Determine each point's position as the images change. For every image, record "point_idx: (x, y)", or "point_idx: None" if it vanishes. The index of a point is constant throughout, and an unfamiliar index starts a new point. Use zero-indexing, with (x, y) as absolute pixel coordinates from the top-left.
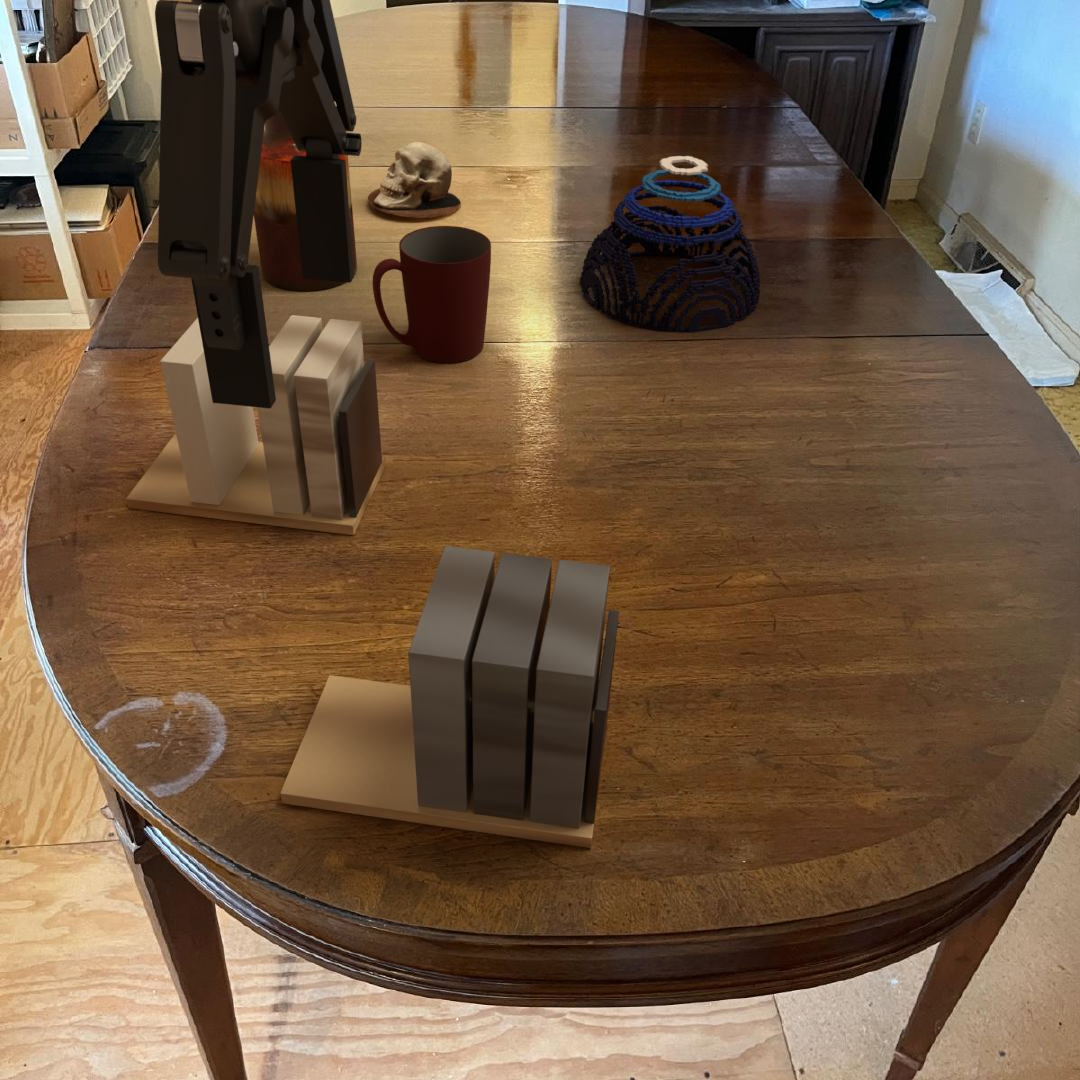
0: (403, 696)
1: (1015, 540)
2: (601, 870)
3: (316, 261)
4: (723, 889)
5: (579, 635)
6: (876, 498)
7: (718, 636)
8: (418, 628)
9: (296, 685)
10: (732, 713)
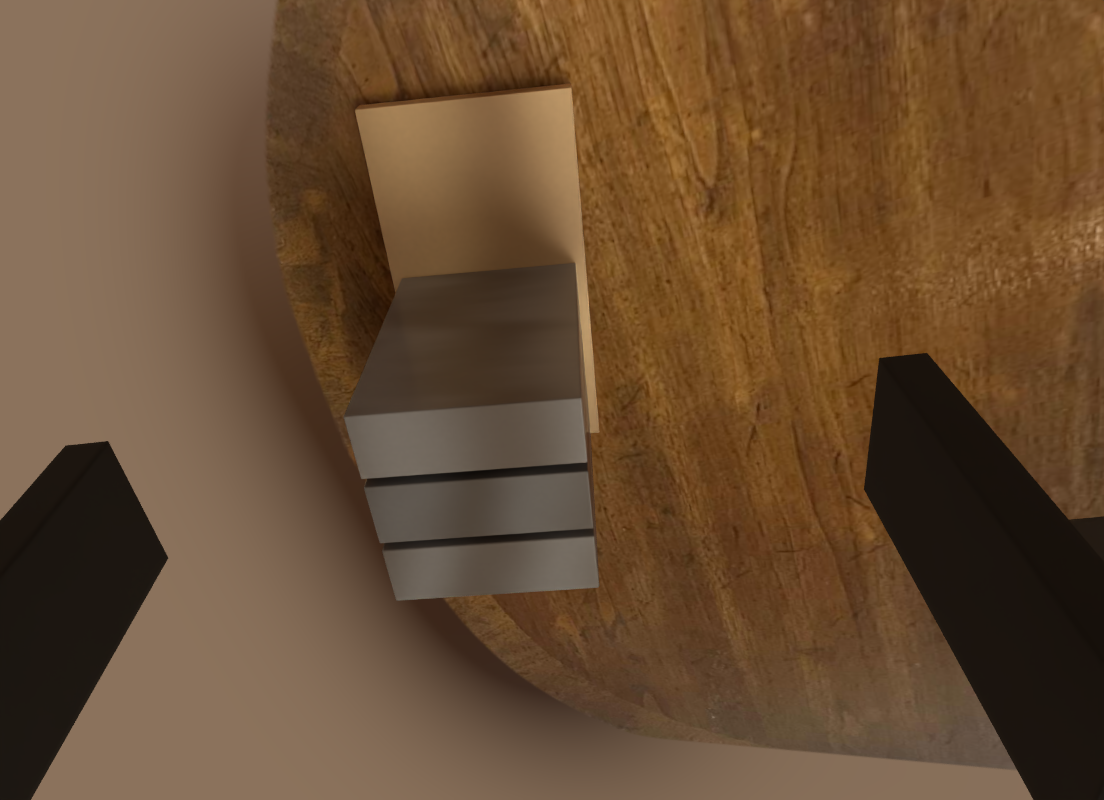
0: (559, 205)
1: (951, 729)
2: None
3: (896, 442)
4: None
5: (456, 579)
6: None
7: (758, 505)
8: (392, 415)
9: (557, 30)
10: (642, 526)
